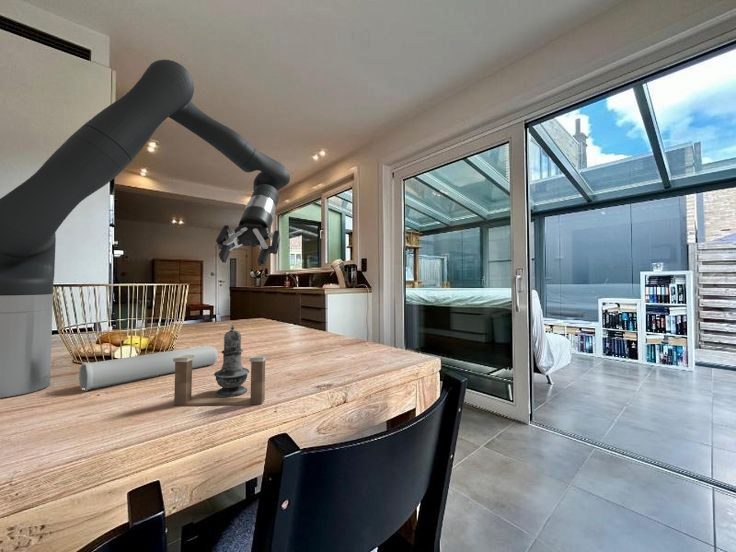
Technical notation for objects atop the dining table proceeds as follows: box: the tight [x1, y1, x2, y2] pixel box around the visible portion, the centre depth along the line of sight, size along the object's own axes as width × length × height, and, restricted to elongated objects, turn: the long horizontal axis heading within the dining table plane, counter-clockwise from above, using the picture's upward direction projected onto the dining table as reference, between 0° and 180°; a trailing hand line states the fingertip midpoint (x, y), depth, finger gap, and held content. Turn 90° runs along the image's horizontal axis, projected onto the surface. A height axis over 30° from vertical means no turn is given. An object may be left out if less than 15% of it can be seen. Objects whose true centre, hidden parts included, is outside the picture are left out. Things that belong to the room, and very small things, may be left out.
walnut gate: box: [173, 354, 268, 406], centre depth 52 cm, size 14×2×8 cm, turn 93°
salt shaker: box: [213, 325, 250, 398], centre depth 57 cm, size 6×6×12 cm
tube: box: [78, 345, 219, 392], centre depth 68 cm, size 5×5×25 cm
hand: (241, 262), depth 74 cm, fingers open, 8 cm apart
